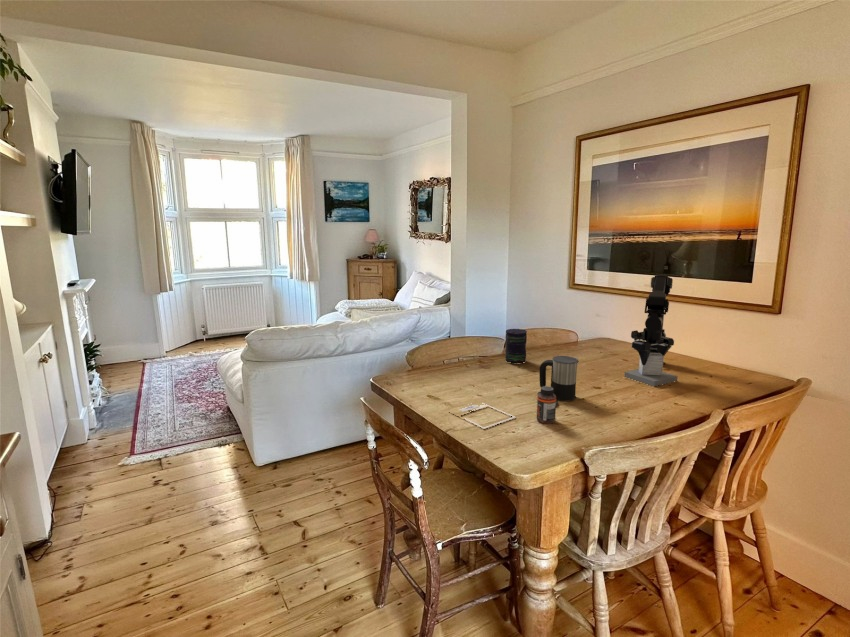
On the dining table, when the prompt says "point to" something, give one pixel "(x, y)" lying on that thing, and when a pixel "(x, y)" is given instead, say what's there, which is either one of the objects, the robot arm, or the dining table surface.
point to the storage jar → (515, 345)
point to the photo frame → (483, 407)
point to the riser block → (651, 378)
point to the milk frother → (561, 376)
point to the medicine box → (652, 365)
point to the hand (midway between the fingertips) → (651, 363)
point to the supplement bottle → (546, 405)
